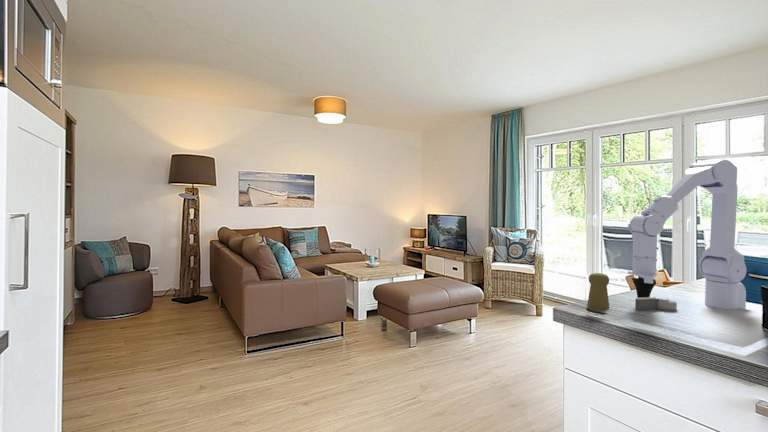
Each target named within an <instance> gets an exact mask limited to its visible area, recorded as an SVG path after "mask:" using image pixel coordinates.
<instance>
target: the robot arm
mask: <svg viewBox="0 0 768 432" xmlns="http://www.w3.org/2000/svg"><path fill="white" fill-rule="evenodd" d="M683 173H684V175H683V176H682V177H681V179H680V180H679V181H678V182H677V183H676V184H675V185H674V186H673V187H672V189H671V190H670V191H669V192H668V193H667V194H666V195H661V196H657V197H655V198H654V199H653V202H652V203H651V204H649V206H648V207H647V208H645V209H643V211H642V213H641V214H637V215H635V216H633V217H632V218H631V220H630V221H629V223H628V225H627V226H628V230H629V231H630V233H631V238H632V270H627V274H629V275H633V276H635V277H632V278H631V281H632V283H633V285H634V287H635V291H636V299H637V298H639V297H651V293H652V290H653V289H654V287H656V285H657V280H656V279H655V278H656V277H657V276H658V273H657V255H658V254H657V252H658V250H657V249H658V236H659V234H661V233H662V232H663V230H664V225H665V224H666V221H667V220H669V219H670V217H671V216H672V215H673V214H675V213H676V212H677V211H678V210H679V204H678V203H680V202H681V201H682V200H683V199H684V198H685V197H687V196H688V195H690V193H691V192H692V191H694V190H695V189H696V188H698V187H700V188H703V189H704V190H707V191H708V192H709V193H710V194H712V199H711V200H712V202H711V217H710V218H711V220H710V221H711V223H710V237H709V238H710V241H709V246H708V247H707V248H706V249H705V250H703V251H702V252H701V253H702V254H701V255H702V256H701V259H700V260H699V263H698V269H699V273H700V274H701V275H702V276H703V277H702V278H703V279H705V285H704V287H705V288H704V289H705V292H704V305H705V306H707V307H711V308H716V309H720V310H721V309H722V310H723V309H724V310H737V309H743V310H746V308H747V307H746V306H747V303H746V302H747V291H746V287H745V285H744V284H743V283H742V280H744V279H745V277H746V274H747V266H746V262H745V255H743V254H742V253H741V252H739V250H737V249H736V248H735V246H736V245H735V244H736V243H735V242H736V223H737V204H738V183H737V182H738V181H737V179H738V167H737V166H736V165H735V164H734V163H733V162H732V161H730V160H728V159H721V160H715V161H714V160H713V161H706V162H695V163H693V164H690V165H689V166H688V168H686V170H684V172H683Z"/></svg>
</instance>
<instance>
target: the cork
mask: <svg viewBox="0 0 768 432" xmlns="http://www.w3.org/2000/svg"><path fill="white" fill-rule="evenodd" d="M588 282H589V284H590V287H589V292H588V298H587V303H586V305H587V307H588V308H586V311H587V313H588V312H589V313H591V312H592V314H597V315H607V313H605V312H602V311H598V310H608V309H610V302H609V292H608V285H609V283H610V278H609V276H608V275H607V274H604V273H600V272H596V273H595V272H594V273H591V274H590V275H589V276H588ZM590 308H592V309H590ZM594 309H596V310H594ZM597 309H598V310H597Z"/></svg>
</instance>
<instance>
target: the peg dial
mask: <svg viewBox="0 0 768 432" xmlns="http://www.w3.org/2000/svg"><path fill="white" fill-rule="evenodd" d="M634 303H635V305H634V307H635V310H637V311H652V310H654V311H655V310H659V311H664V312H666V311H667V312H676V311H677V310H678V309H677V307H678V306H677V305H678V303H677V301H675V300H672V299H671V300H670V299H668V298H662V297H660V298H656V296H650V297H639V298H637V297H636V298H635V302H634Z"/></svg>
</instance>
